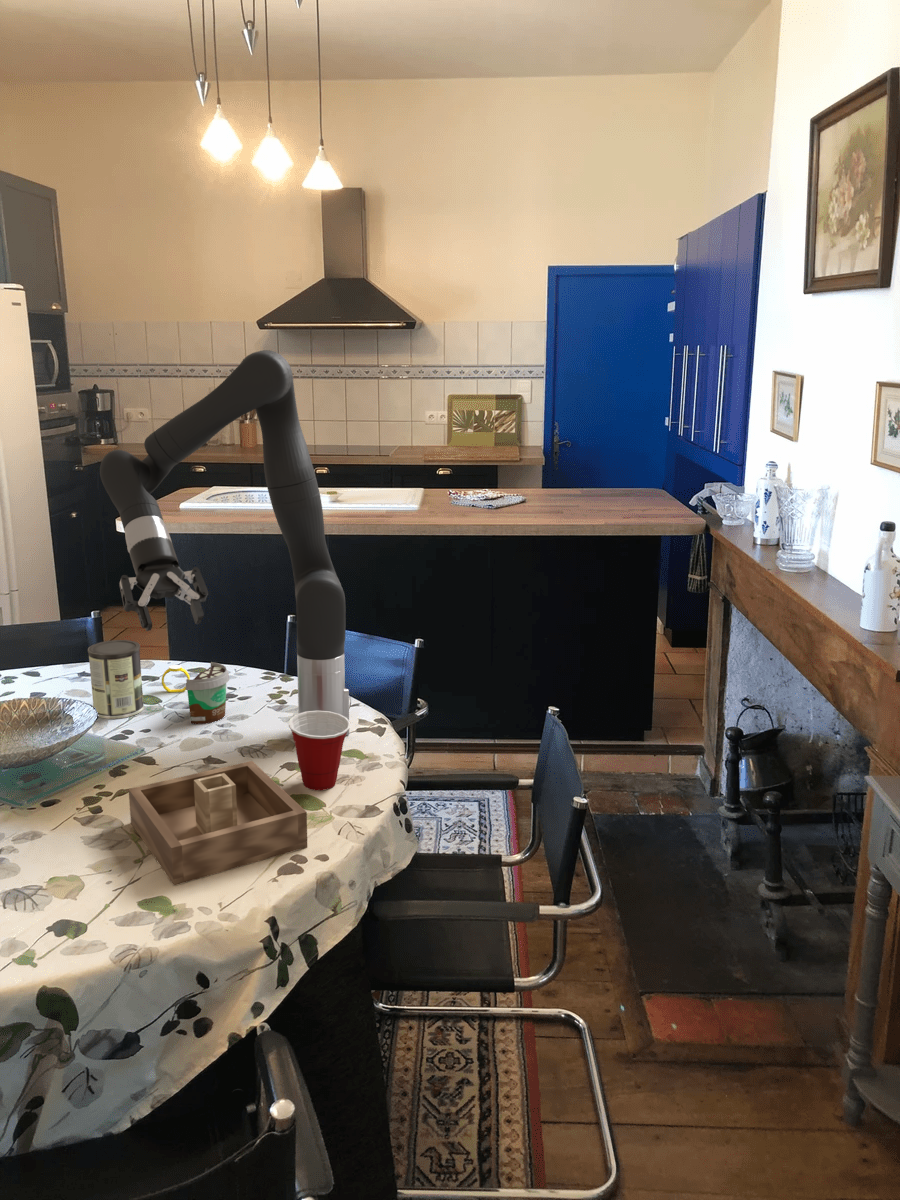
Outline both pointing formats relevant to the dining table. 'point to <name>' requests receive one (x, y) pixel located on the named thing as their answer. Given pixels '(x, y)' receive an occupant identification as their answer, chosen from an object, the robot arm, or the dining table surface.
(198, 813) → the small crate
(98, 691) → the coffee can
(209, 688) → the food container
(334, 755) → the plastic cup
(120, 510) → the robot arm
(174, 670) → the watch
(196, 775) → the crate
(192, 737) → the dining table surface
